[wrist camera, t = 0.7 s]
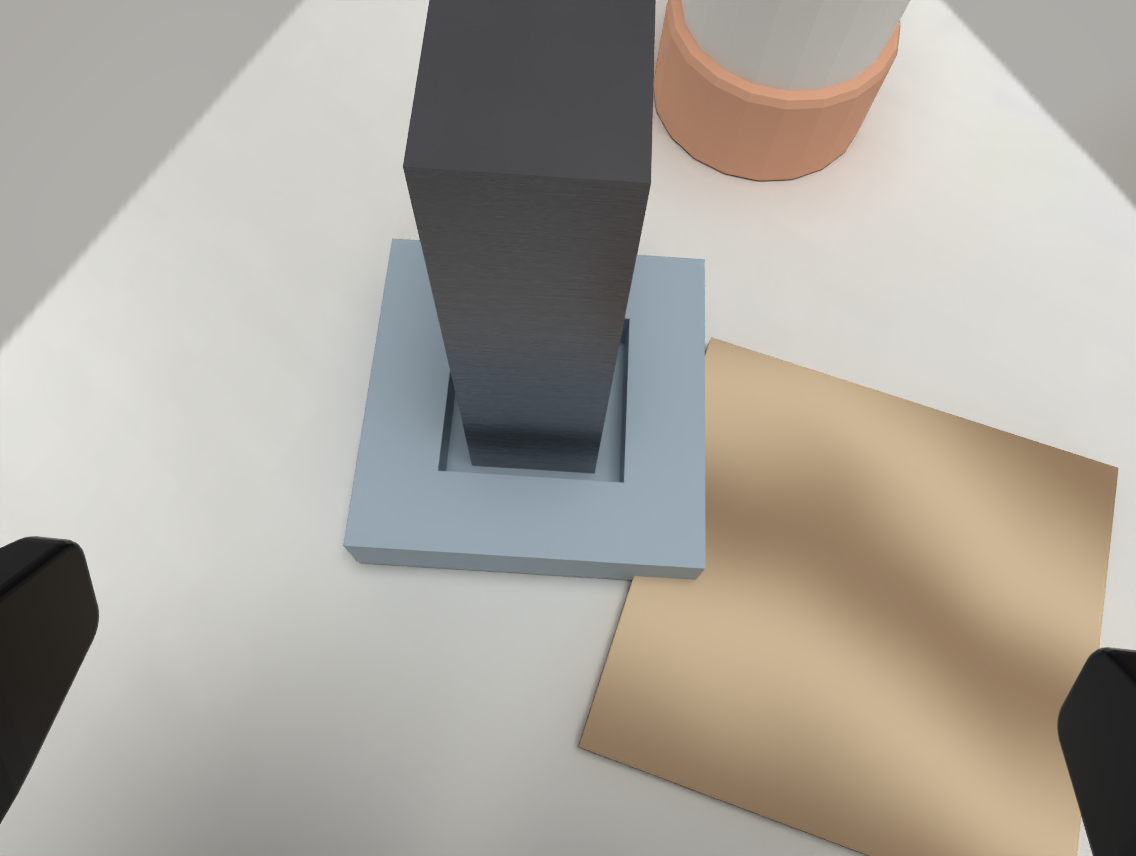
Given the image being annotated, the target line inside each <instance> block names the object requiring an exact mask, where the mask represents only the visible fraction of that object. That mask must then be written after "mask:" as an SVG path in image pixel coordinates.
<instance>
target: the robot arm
mask: <svg viewBox="0 0 1136 856" xmlns="http://www.w3.org/2000/svg"><path fill="white" fill-rule="evenodd" d="M98 622H99V609H98V604H97V601H96V597H95V593H94V589H93V585H92V581H91V578H90V574H89V570H88V566H87V562H86V559H85V555H84V552H83V550H82V548H81V547H80V546H79V545H78V544H77V543H76V542H73V541H71V540H67V539H57V538H47V537H38V536H34V537H25V538H22V539H19V540H17V541H15V542H13V543H10V544H8V545H6V546H4V547H2V548H0V823H1V822H2V820H3V818H4V817H5V815H6V813H7V812H8V810H9V808H10V806H11V805H12V803H13V801H14V800H15V798H16V796H17V794H18V792H19V791H20V789H21V787H22V785H23V783H24V781H25V779H26V777H27V775H28V773H29V771H30V769H31V768H32V765H33V763H34V761H35V759H36V757H37V755H38V753H39V751H40V749H41V747H42V745H43V743H44V741H45V739H46V737H47V734H48V732H49V730H50V728H51V726H52V724H53V722H54V720H55V718H56V716H57V714H58V712H59V710H60V708H61V706H62V703H63V701H64V699H65V697H66V695H67V693H68V691H69V689H70V687H71V685H72V683H73V681H74V679H75V677H76V675H77V672H78V670H79V668H80V666H81V664H82V662H83V660H84V658H85V656H86V654H87V652H88V650H89V648H90V646H91V644H92V641H93V639H94V637H95V634H96V631H97V627H98ZM1057 730H1058V737H1059V742H1060V745H1061V749H1062V752H1063V755H1064V759H1065V762H1066V766H1067V769H1068V772H1069V776H1070V779H1071V783H1072V786H1073V789H1074V793H1075V796H1076V800H1077V803H1078V806H1079V810H1080V813H1081V817H1082V820H1083V823H1084V827H1085V830H1086V834H1087V837H1088V840H1089V844H1090V847H1091V851H1092V854H1093V856H1136V650H1128V649H1119V648H1109V647H1106V648H1100V649H1097V650H1096V651H1094V652H1093V653H1092V654H1090V656H1089V657H1088V659H1087V660H1086V662H1085V664H1084V666H1083V668H1082V669H1081V671H1080V673H1079V675H1078V677H1077V679H1076V680H1075V682H1074V684H1073V686H1072V688H1071V689H1070V691H1069V693H1068V695H1067V697H1066V699H1065V700H1064V702H1063V704H1062V706H1061V708H1060V711H1059V715H1058V720H1057Z"/></svg>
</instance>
